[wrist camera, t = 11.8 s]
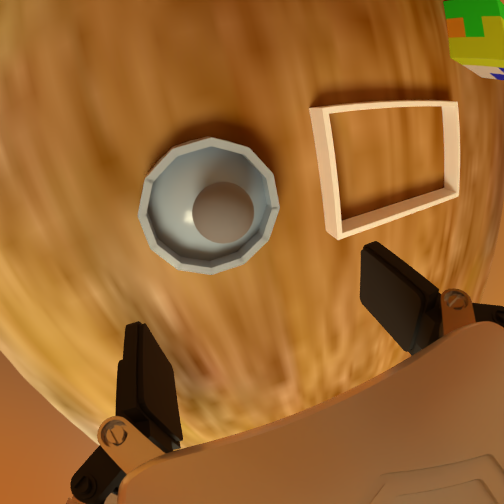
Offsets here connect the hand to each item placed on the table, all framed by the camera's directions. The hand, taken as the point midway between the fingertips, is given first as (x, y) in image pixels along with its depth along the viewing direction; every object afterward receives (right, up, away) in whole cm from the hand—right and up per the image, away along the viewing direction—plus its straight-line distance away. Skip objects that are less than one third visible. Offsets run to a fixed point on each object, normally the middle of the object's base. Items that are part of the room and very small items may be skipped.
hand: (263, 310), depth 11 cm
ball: (-4, +6, +14) cm, 16 cm away
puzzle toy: (+31, +34, +12) cm, 48 cm away
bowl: (-5, +7, +14) cm, 17 cm away
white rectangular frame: (+16, +14, +18) cm, 27 cm away
